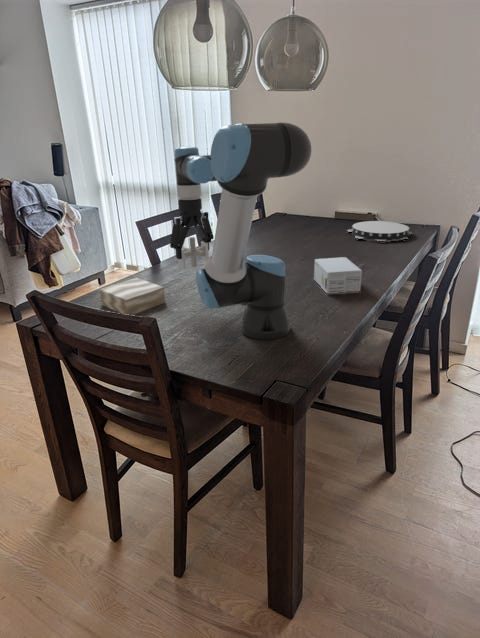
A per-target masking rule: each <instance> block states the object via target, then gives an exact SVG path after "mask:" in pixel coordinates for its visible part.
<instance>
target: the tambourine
mask: <svg viewBox="0 0 480 638" xmlns="http://www.w3.org/2000/svg"><path fill="white" fill-rule="evenodd" d="M347 231H348V232H352V233H351V235H352V234H354V235H355V238H358V239H363V238H367V239H375V240H377V241H386V240H392V239H408V240H409V235H408V234H412V235H413V232H412V231H410V227H409V226H408V225H405V224H402V223H399V222H394V221H385V220H382V221H381V220H371V221H370V220H369V221H367V220H366V221H359V222H356V223H353V224H352V226H351V229H347V230H346V232H347ZM348 232H347V233H348ZM407 236H408V237H407ZM355 238H354V239H355ZM358 239H357V240H358Z"/></svg>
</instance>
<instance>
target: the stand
mask: <svg viewBox="0 0 480 638" xmlns="http://www.w3.org/2000/svg"><path fill="white" fill-rule="evenodd" d="M99 293H100V301H101V305H102V306H103V307H106V308H108V309H110V310H113V311H115V312H116V313H120V314H121V315H124V314H129V315H131V316H133V315H136V314H138V313H141V312H144V311H146V310H149V309H152V308H155V307H158V306H160V305H163V304H165V303H166V297H165V287H164V286H162V285H159V284H155V283H153V282H150V281H147V280H144V279H142V278H139V277H135V278H131V279H128V280H125V281H121V282H119V283H115V284H112V285H109V286H105V287H102V288H100V289H99Z"/></svg>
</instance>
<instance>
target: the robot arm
mask: <svg viewBox="0 0 480 638" xmlns="http://www.w3.org/2000/svg"><path fill="white" fill-rule="evenodd" d="M311 156H312V143H311V140H310V139H309V136H308V134H307V133H306V132H305V131H304V130H303V128H301V127H299V126H298V125H295V124H293V123H289V122H275V123H273V122H270V123H243V122H240V123H238V122H237V123H235V124H227V125H223V126H222V127H221V128H219V129H218V130H217V131H216V133H215V135H214V137H213V139H212V143H211V147H210V154H204V155H200V153H199V148H198V147H196V146H180V147H176V148H175V149H174V164H175V175H176V177H175V178H176V189H177V197H178V200H177V205H178V210H179V212H180V213H179V216H176V217H172V229H171V239H170V244H169V247H170V248H171V249H174V250H175V257H176V259H177V266H178V268H179V269H183V270H184V269H186V257H185V254H184V249H182V247H184V243H185V240H186V237H187V235H188V232H189V231H190V229H191V228H193V227H195V229H196V231H197V232H198V235H199V236H200V238H201V240H202V241H201V242H200V247H205V252H206V255H205V256H204V257H202V256H201V261H202V262H203V261H204V262H205V263H204V268H200V269H198V270H196V272H195V279H196V287H197V292H198V295H199V296H200V297H199V298H200V300H201V302H202V304H203V306H204V307H205V308H207V309H209V310H211V309H221V308H226V307H231V306H236V305H237V306H238V305H243V304H246V307H245V309H244V310H245V311H244V314H243V317H242V320H241V325H240V327H241V329H240V330H241V332H242V333H243V335H245V336H246V337H248V338H252V339H256V340H262V341H263V340H264V341H265V340H268V341H269V340H275V339H280V338H283V337H285V336H287V335H288V334H289V333H290V331H291V330H290V329H291V328H290V327H291V323H290V322H291V321H290V320H289V318H288V313H287V310H286V306H285V303H286V301H285V300H286V299H285V297H286V277H287V274H286V264H285V262H284V260H282V259H280V258H278V257H275V256H271V255H268V254H267V255H266V254H250V255H248V256H246V257H245V254H246V250H247V246H248V245H247V244H248V241H249V237H250V232H251V231H250V230H251V229H252V228H251V226H252V223H253V218H254V215H255V209H256V204H257V200H258V196H260V195H262V194H263V193H264V192H265V191H266V187H267V185H268V180H269V179H272V178H273V179H274V178H284V177H289V176H293V175H296V174H297V173H299V172H301V171H302V170H303V169H304V168H305V167H307V165H308V164H309V162H310V159H311ZM209 182H217V183H218V186H219V187H220V188H221V193H220V200H219V209H218V215H217V220H216V221H217V222H216V228H215V233H214V234H213V229H212V227H211V223H210V220H209V211H201V210H202V209H203V203H202V198H201V197H202V188H201V185H203V184H207V183H209ZM213 239H214V240H213ZM212 240H213V245H212V246H213V247H212V254H211V255H209V254H210V252H209V251H210V243H212ZM244 261H245V262H244Z"/></svg>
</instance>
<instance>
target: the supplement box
mask: <svg viewBox="0 0 480 638" xmlns="http://www.w3.org/2000/svg"><path fill="white" fill-rule="evenodd" d="M313 270H314V271H313V281H314V280H315V281H316V282H317V283H318V284H319V285H320V286H321V288H322V289H323V290H324V291H325V292H326V293H338V292H348V291H360V292H361V287H362V278H363V277H362V276H363V270H362V269H361V268H359V266H357V265H356V264H355V263H353V262H352V261H351V260H349V258H347V257H346V256H344V257H342V256H341V257H328V258H315V259H314V269H313ZM321 288H320V289H321Z"/></svg>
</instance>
